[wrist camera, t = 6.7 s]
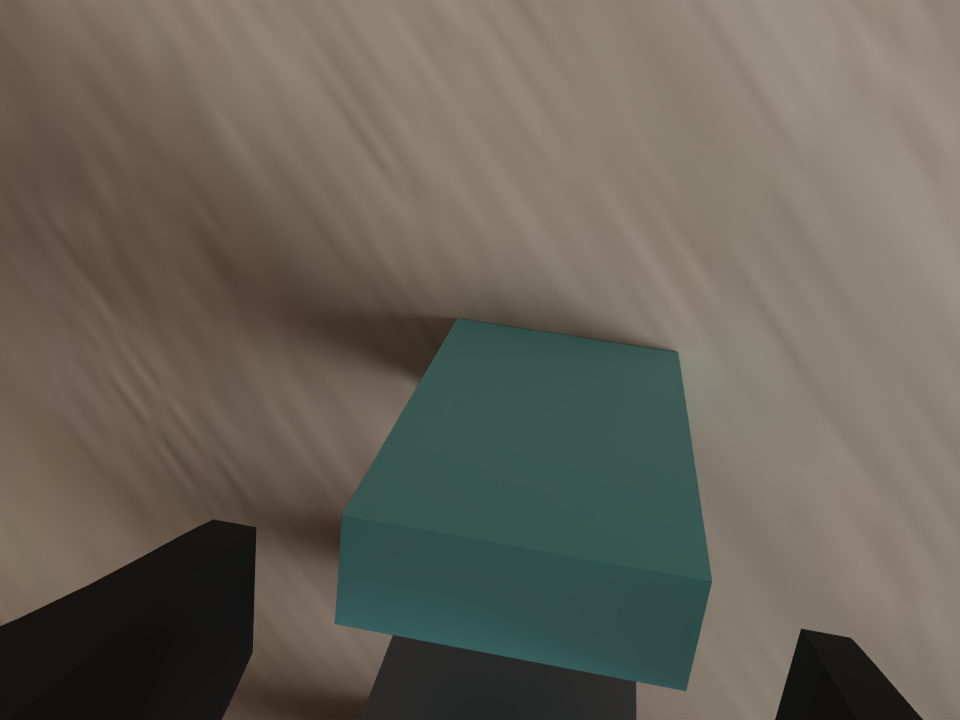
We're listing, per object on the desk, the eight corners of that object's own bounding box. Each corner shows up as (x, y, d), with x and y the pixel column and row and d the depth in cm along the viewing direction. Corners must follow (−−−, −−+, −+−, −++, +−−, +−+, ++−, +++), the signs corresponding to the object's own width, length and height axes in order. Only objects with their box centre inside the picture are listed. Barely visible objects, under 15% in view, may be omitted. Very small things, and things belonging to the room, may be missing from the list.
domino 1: (663, 425, 21) (686, 691, 13) (449, 390, 22) (334, 623, 13) (678, 352, 20) (711, 581, 12) (457, 318, 21) (342, 514, 12)
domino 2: (433, 528, 23) (321, 819, 14) (634, 565, 22) (638, 888, 14) (427, 589, 23) (316, 901, 15) (622, 625, 23) (618, 969, 15)
